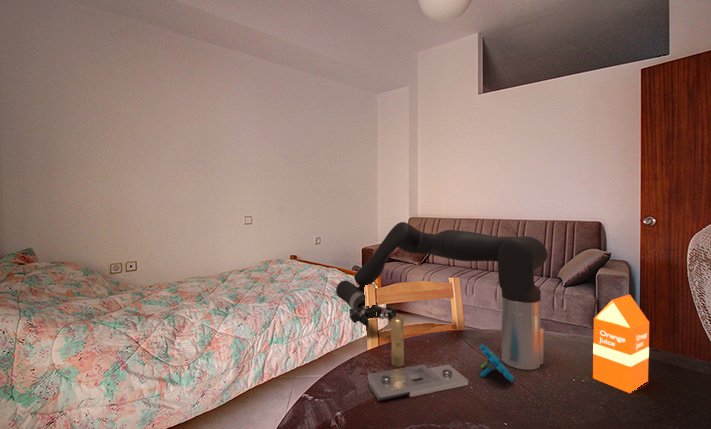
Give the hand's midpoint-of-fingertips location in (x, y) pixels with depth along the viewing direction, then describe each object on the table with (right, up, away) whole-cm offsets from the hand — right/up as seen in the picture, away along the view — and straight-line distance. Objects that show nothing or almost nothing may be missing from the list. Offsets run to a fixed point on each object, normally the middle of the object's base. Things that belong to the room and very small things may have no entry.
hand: (381, 321), depth 101 cm
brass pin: (+4, -8, -10) cm, 14 cm away
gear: (+27, -8, -18) cm, 33 cm away
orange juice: (+55, -8, -20) cm, 59 cm away
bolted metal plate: (+7, -8, -21) cm, 24 cm away
